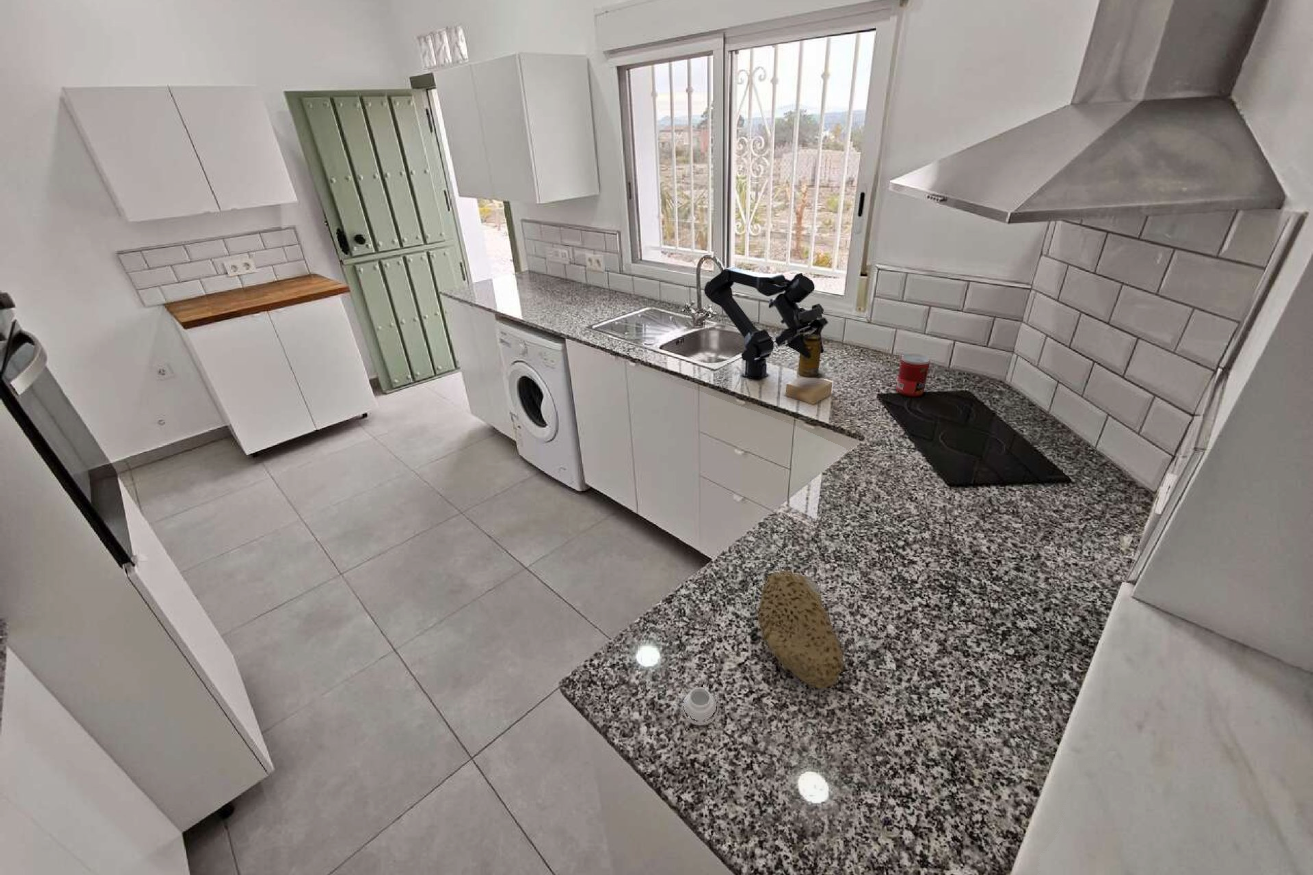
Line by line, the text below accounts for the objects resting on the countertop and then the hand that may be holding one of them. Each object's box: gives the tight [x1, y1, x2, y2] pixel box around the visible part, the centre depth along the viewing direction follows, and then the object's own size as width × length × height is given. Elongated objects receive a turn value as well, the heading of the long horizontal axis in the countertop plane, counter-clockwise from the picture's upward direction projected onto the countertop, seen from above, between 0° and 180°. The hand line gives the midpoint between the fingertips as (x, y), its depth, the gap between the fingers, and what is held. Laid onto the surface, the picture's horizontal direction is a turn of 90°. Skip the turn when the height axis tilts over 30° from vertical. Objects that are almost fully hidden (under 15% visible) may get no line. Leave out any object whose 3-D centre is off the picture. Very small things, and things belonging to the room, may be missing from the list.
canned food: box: [895, 353, 931, 397], centre depth 164 cm, size 8×8×11 cm
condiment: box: [796, 333, 826, 380], centre depth 162 cm, size 7×8×12 cm
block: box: [785, 377, 833, 405], centre depth 167 cm, size 10×10×4 cm
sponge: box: [757, 570, 845, 689], centre depth 84 cm, size 13×8×20 cm
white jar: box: [681, 686, 719, 726], centre depth 75 cm, size 5×3×5 cm
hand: (816, 355), depth 161 cm, fingers closed on condiment, 6 cm apart
